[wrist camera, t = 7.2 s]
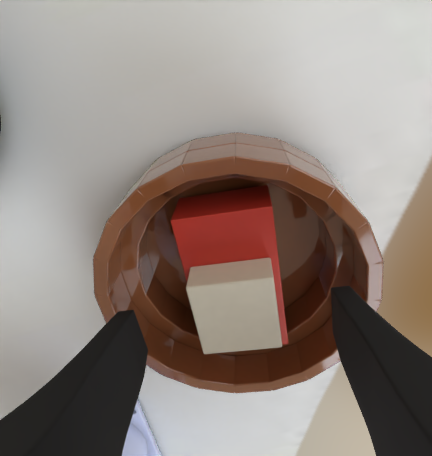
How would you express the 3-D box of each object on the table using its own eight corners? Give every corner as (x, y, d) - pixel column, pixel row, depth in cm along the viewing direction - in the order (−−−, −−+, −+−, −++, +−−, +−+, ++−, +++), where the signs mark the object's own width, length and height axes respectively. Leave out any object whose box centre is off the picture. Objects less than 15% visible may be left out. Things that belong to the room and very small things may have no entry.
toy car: (281, 302, 18) (293, 370, 14) (209, 309, 19) (202, 377, 15) (266, 178, 15) (276, 223, 11) (180, 191, 16) (162, 239, 12)
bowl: (352, 320, 19) (379, 383, 16) (155, 339, 21) (138, 401, 17) (351, 109, 14) (390, 131, 11) (90, 154, 16) (47, 186, 12)
